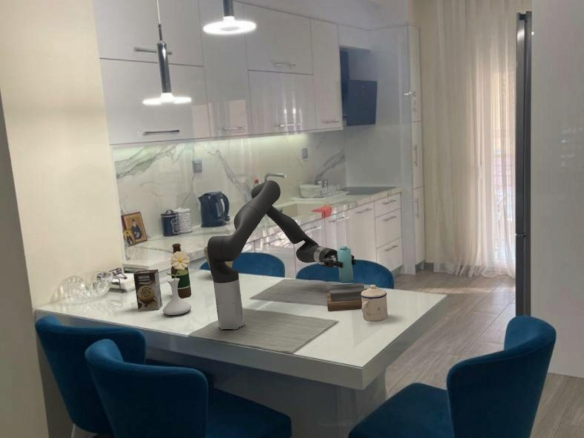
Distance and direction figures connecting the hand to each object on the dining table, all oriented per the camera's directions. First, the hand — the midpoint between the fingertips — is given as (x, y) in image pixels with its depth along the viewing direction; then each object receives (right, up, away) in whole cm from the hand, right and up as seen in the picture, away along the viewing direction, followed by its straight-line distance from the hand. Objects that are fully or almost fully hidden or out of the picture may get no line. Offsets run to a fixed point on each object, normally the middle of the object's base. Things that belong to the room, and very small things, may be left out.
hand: (348, 263), depth 210 cm
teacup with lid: (+7, -18, -16) cm, 25 cm away
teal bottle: (-1, -6, +3) cm, 7 cm away
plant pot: (-56, -12, +65) cm, 87 cm away
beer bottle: (-70, -18, +38) cm, 82 cm away
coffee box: (-81, -21, +24) cm, 87 cm away
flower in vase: (-67, -21, +14) cm, 71 cm away
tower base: (0, -16, +5) cm, 16 cm away
